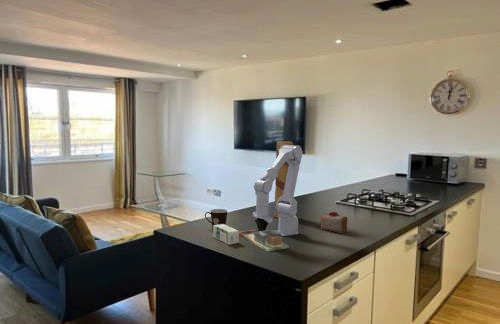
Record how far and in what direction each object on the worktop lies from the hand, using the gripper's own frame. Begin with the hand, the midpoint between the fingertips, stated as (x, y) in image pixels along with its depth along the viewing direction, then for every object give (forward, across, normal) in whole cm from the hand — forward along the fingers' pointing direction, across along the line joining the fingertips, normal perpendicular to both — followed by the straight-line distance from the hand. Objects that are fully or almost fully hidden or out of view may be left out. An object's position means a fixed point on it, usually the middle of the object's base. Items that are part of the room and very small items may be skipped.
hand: (261, 234), depth 167 cm
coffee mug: (+3, -26, -11) cm, 29 cm away
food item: (+3, +1, +43) cm, 43 cm away
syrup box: (0, -1, -14) cm, 14 cm away
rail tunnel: (+3, 0, 0) cm, 3 cm away
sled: (+2, +7, 0) cm, 8 cm away
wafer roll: (+3, -34, +35) cm, 49 cm away
